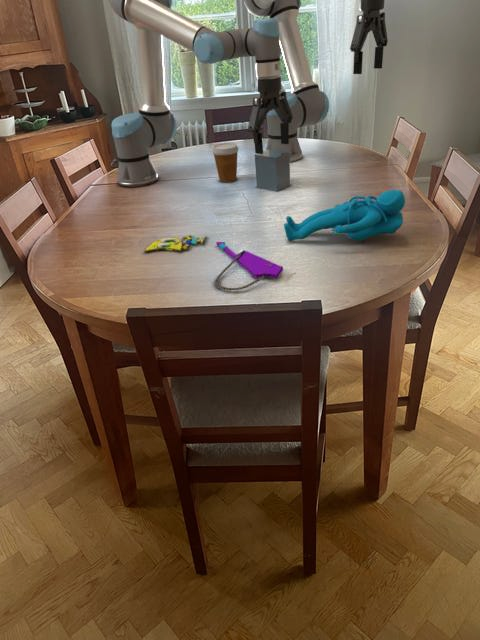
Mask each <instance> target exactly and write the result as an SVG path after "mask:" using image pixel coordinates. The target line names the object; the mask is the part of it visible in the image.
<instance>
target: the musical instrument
mask: <svg viewBox="0 0 480 640" xmlns="http://www.w3.org/2000/svg"><path fill="white" fill-rule="evenodd" d="M216 246H218V247H219V249H220V250H221V251H223V252H225V254H227V255H228V256H229V257H231V259H233V260H232V261H231V262H230V263H229V264H227V266H225V268H224V269H223V270H222V271H221V272H220V273H219V274H218V275H217V276H216V278H215V280H214V284H215V287H216V288H217V289H222V290H225V291H239V290H243V289H246V288H249V287H251V286H253V285H255V284H256V283H258V282H260V281H261V280H262V279H264V278H272V279H278V278H279V277H280V275H281V274H282V273H283V271H284V266H282V265H280V264H277V263H275V262H273V261H270V260H268V259H265V258H263V257H261V256H259V255H257V254H254V253H252V252H250V251H248V250H244V249H243V250H242V251H240V252H238V253H235V252H234V251H232V250H231V249H230V248H229V247H228V246H227V245H226V242H225V241H216ZM234 263H237V264H239V265H240V266H241V267H242V268H244V269H245V270H246V271H247V272H248V273H249V274H251V275H252V276H253V277H255V280H254V281H251V282H250V283H248V284H246V285H243V286H240V287H226V286H221V285H220V284H219V280H220V278H221V277H222V276H223V275H224V273H226V272H227V270H228V269H229V268H230V267H231V266H233V264H234Z"/></svg>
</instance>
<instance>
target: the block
mask: <svg viewBox="0 0 480 640" xmlns="http://www.w3.org/2000/svg"><path fill="white" fill-rule="evenodd" d="M254 163H255V181H256V183H255V185H256V188H259V189H264V190H268V191H273V192H279V191H281V190H283V189H286V188H288V187H289V186H291V162H290V152H284V151H277V150H270V149H268V150H266V149H265V150H263V154H257V153H255V154H254Z"/></svg>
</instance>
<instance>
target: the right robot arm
mask: <svg viewBox="0 0 480 640" xmlns="http://www.w3.org/2000/svg"><path fill="white" fill-rule="evenodd" d="M243 3H244V6H245V9H246V10H247V11H248V12H249V13H250V14H251V15H253V16H256V17H258V18H262V17H268V19H269V18H276V19H277V20H278V25H279V34H280V36H279V44H280V49H281V50H280V51H281V53H282V56H283V61H284V64H285V68H286V72H287V76H288V79H289V82H290V86H291V92H286V98H287V101H288V104H289V107H290V110H291V113H292V116H293V119H292V122H291V123H289V133H288V134H289V144H281V128H280V123H283V122H282V121H281V119H280V118H279V116H278V115H277V113H276V112H275V110H274V109H272V110H271V111H269V112H268V113H267V115H266V118H267V119H266V121H267V142H266V147H265V150H268V149H270V150H277V151H284V152H290V163H292V162H296V161H299V160H301V159H302V158H303V151H302V148H301V144H300V142H299V139H298V129H299V128H304V127H309V126H315V125H317V124H319V123H321V122H323V121H324V120H326V118H327V116H328V113H329V110H330V100H329V96H328V95H327V94H326V92H324V91H322V90H320V87H319V84H318V83H316V82H315V81H314V79H313V76H312V71H311V68H310V64H309V61H308V57H307V53H306V49H305V45H304V42H303V38H302V34H301V31H300V27H299V22H298V17H299V14H300V9H301V7H302V1H301V0H243ZM384 9H385V0H359V11H360V12H362V14H359V15H356V21H355V22H356V24H355V26H354V31H353V35H352V39H351V43H350V46H349V50H350V52H351V53H352V52H353V71H352V74H353V75H361V74H362V75H363V59H364V58H363V57H364V51H362V49H363V48H364V46H365V43H366V39H367V37H368V34H369V33H370V32H372V35H373V38H374V41H375V44H376V46H375V47H374V58H373V59H374V60H373V63H374V64H373V69H383V61H384V60H383V59H384V47H387V46H388V33H387V26H386V12H381V11H382V10H384ZM288 116H289V115H288Z"/></svg>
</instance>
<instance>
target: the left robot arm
mask: <svg viewBox="0 0 480 640" xmlns="http://www.w3.org/2000/svg"><path fill="white" fill-rule="evenodd" d="M108 2H109V5H110V7H111V9H112V10H113V12H114V13H115V14H116V15H117V16H118V17H119V18H121V19H123V20H124V21H125V22H128V23H129V24H132V25H133V26H134V27H135V29H136V38H137V50H138V51H137V53H138V64H139V78H140V90H141V91H140V93H141V104H139V106H138V112H131V113H130V112H129V113H126V114H122V115H120V116H117V117H115V118H114V119H113V120H112V122H111V124H110V125H111V135H112V138H113V142H114V146H115V151H116V155H117V159H113V160H112V161H110V164H109V167H110V168H112V169H118V170H117V183H118V186H120V187H123V188H124V187H125V188H136V187H137V188H138V187H145V186H147V185H148V186H149V185H151V184H154V183H156V182H157V181H158V180H159V176H158V172H157V169H156V168H155V166H154V163H153V161H152V159H151V156H150V151H149V149H151V148H153V147H156V146H160V145H164V144H166V143H167V142H170V141H171V140H172V139H173V138H174V137H175V136H176V133H177V130H178V125H177V124H178V123H177V119H176V117H175V116H174V113H173V112H172V111H171V107H170V106H169V105H168V104H167V102H166V84H165V66H164V65H165V64H164V45H163V37H164V38H165V39H168V40H170V41H172V42H173V43H175V44H177V45H179V46H181V47H183V48H185V49H186V50H188V51H191V52H192V53H194V56H195V57H196V58H197V60H198V61H199V62H200V63H202V64H206V65H207V64H210V65H212V64H213V65H214V64H216V63H219V62H224V61H228V60H234V59H238V58H246V57H247V58H248V57H249V58H250V57H254V60H255V77H256V78H257V80H256V89H257V90H256V91H257V93H259V97H253V98H252V107H251V113H250V117H249V122H248V126H247V131H248V132H250V133H252V137H253V139H252V140H253V144H254V153H255V154H263V151H264V146H263V145H264V144H263V133H262V132H261V130H262V127H263V125H264V122H265V120H266V118H267V113H268V112H269V111H271V110H272V109H274V110H275V112H276V113H277V115H278V116H279V118H280V119H281V121H282V122H283V123H280V128H281V144H289V134H288V133H289V123H291V122H292V119H293V116H292V113H291V110H290V107H289V104H288V101H287V98H286V93H287V92H286V90H282V78H281V75H282V74H281V50H280V49H281V46H280V42H279V36H280V34H279V25H278V20H277V19H276V18H269V17H268V18H261V19H254V20H253V22H252V27H249V28H231V29H227V30H221V31H215V30H213V29H211V28H209V27H207V26H205V25H203V24H201V23H199V22H198V21H195V20H193V19H192V18H190V17H187V16H186V15H184V14H181V13H180V12H177V11H176V10H174V9H172V6H173V0H108ZM288 115H289V116H288ZM114 163H115V164H116V163H118V165H113V164H114Z"/></svg>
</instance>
